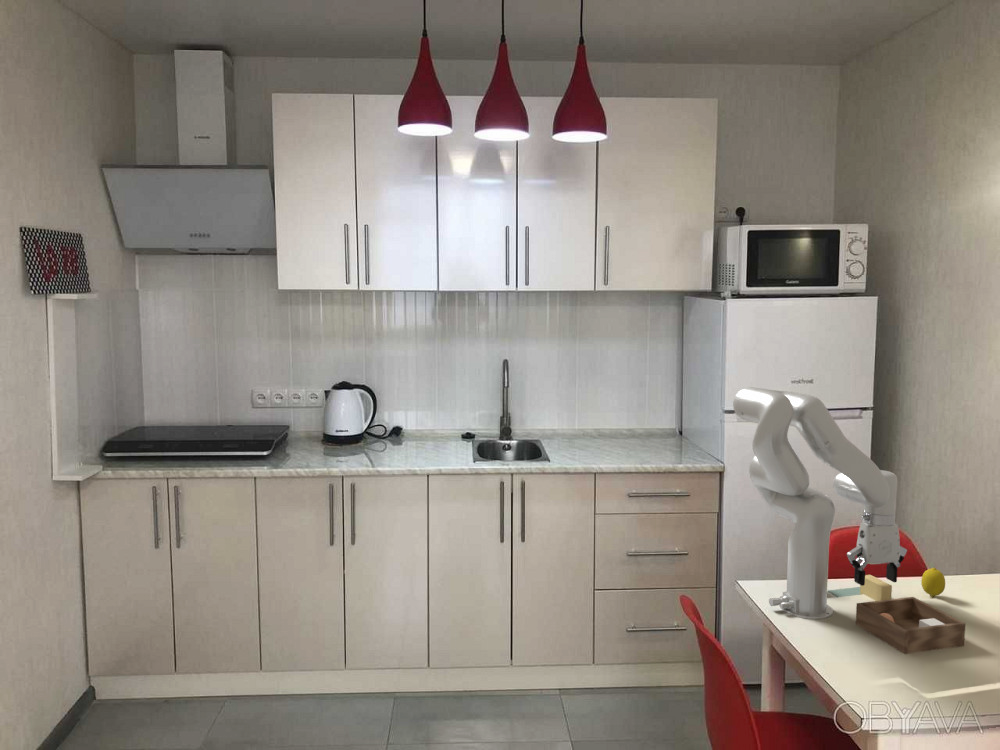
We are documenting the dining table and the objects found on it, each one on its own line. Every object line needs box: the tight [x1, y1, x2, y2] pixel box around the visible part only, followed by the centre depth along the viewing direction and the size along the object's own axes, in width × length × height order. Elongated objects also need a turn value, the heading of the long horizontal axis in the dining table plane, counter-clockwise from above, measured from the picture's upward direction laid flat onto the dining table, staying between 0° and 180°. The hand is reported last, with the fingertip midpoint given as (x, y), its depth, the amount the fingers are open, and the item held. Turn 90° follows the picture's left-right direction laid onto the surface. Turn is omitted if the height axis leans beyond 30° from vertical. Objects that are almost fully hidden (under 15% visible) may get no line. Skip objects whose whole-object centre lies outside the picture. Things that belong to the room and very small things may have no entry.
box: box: [855, 596, 966, 655], centre depth 184 cm, size 16×16×6 cm
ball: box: [880, 613, 895, 623], centre depth 187 cm, size 4×4×4 cm
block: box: [919, 618, 944, 628], centre depth 182 cm, size 4×4×4 cm
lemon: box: [920, 567, 946, 598], centre depth 208 cm, size 6×6×8 cm
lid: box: [827, 574, 893, 601], centre depth 207 cm, size 16×16×6 cm
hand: (875, 582), depth 206 cm, fingers open, 9 cm apart
